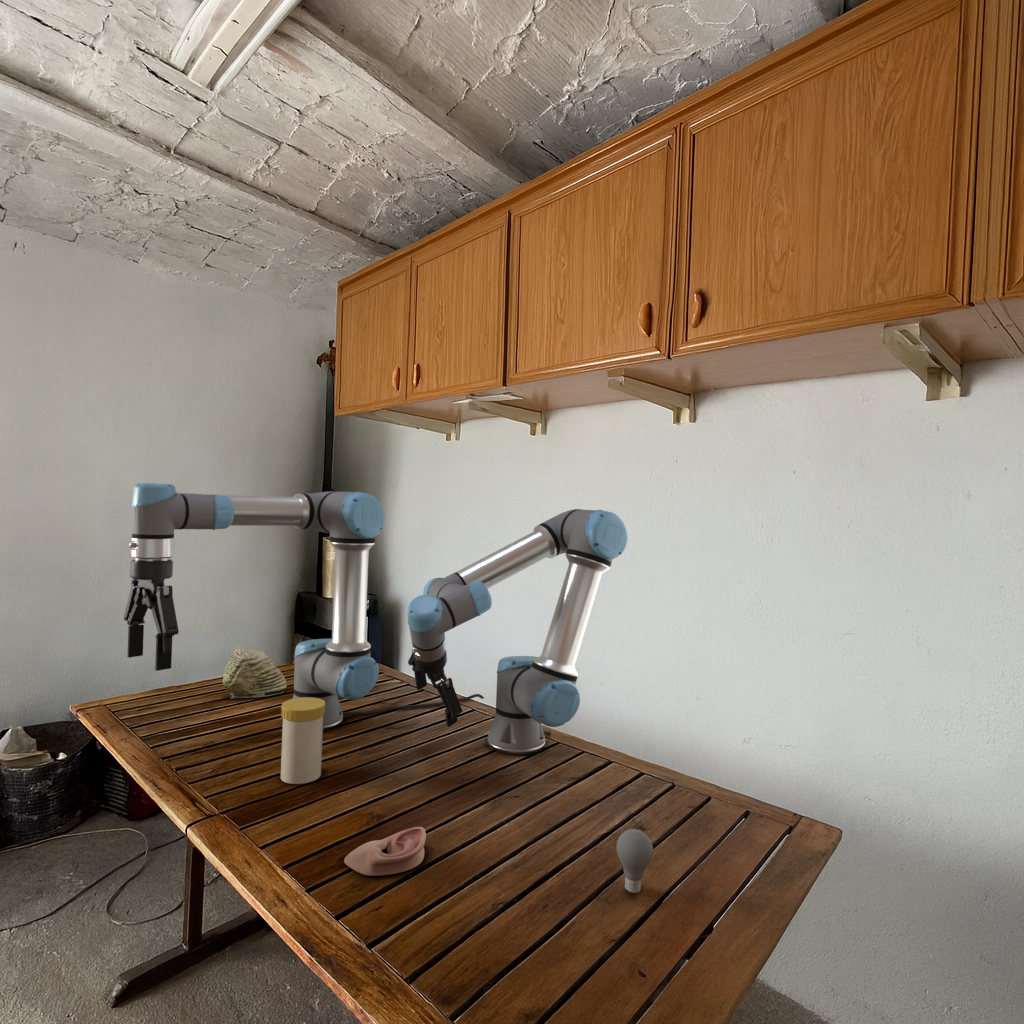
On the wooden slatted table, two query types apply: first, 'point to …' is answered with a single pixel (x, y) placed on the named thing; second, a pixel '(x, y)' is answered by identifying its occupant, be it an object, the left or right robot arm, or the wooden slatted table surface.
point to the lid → (303, 709)
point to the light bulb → (634, 857)
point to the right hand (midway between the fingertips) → (436, 704)
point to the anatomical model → (389, 853)
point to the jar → (301, 751)
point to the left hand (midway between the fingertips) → (148, 662)
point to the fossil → (252, 674)
